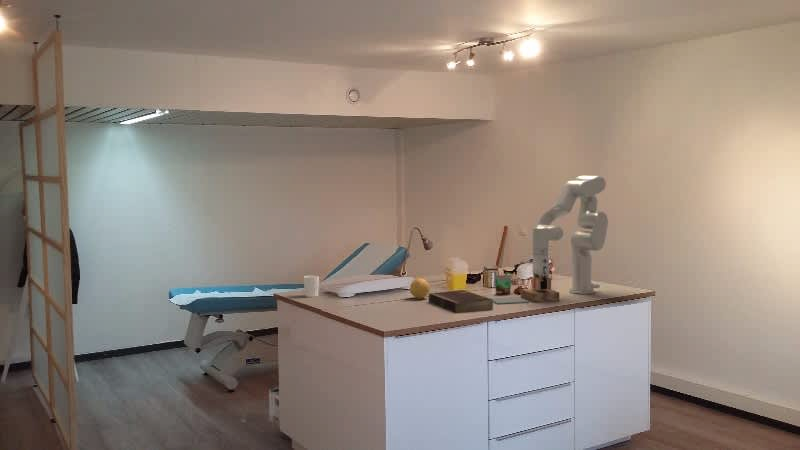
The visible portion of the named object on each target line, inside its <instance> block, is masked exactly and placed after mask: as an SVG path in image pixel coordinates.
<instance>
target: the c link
mask: <svg viewBox="0 0 800 450" xmlns="http://www.w3.org/2000/svg"><path fill="white" fill-rule="evenodd" d="M543 277H544V276H543ZM531 289H536V290H552V278H551V277H548V281H547V289H541V276H540V277H533V276H531Z"/></svg>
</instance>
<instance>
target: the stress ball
mask: <svg viewBox="0 0 800 450" xmlns="http://www.w3.org/2000/svg"><path fill="white" fill-rule="evenodd" d="M430 286H431V285H430V283H429V282H428V281H427V280H426V279H424V278H421V277H420V278H419V277H418V278H416V279H413V280H412V281H411V284H410V286H409V292H410V294H411V295H412V297H414V298H416V299H418V300H421V299H424V298H426V297H427V296H429V293H430V290H431V287H430Z"/></svg>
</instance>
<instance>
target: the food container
mask: <svg viewBox="0 0 800 450" xmlns="http://www.w3.org/2000/svg"><path fill="white" fill-rule="evenodd" d="M512 279H513V275H512V273H510V272H505V274H500V275H498V274H495V275H494V284H495V295H500V296H501V295H510V294H511V287H512V286H511V285H512Z"/></svg>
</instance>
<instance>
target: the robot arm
mask: <svg viewBox="0 0 800 450" xmlns="http://www.w3.org/2000/svg"><path fill="white" fill-rule="evenodd" d="M606 186H607V183H606V179H605V178H604V177H603V176H601V175H579V176H577V177H575V179H574V180H569V181H566V182H565V183H564V185H563V187H562V188H561V190H560V193H559V195H558V197H557V198H556V201H555V204H553V206H551V207H550V208H549V209H547V210H546V212H545V213H543V214H542V215H541V217H540V218H539V220H538V223H537V225H536V226H534V227H533V228H532V275H533V276H532V277H540V276H541V289H547V281H548V278H549V275H550V259H549V258H550V257H549V241H552V242H557V241H560V240H562V239H563V236H564V230H563V229H562V228H561V226H558V225H552V223H553V222H554V221H556V220H558V219H560V218H562V217H564V216H567V215H568V214H570V213H571V212H572V209H573V207H574V205H575V202H576V201H577V199H578V198H579V199H580V204H579V210H578V216H577V220H576V221H577V223H576V224H577V226H578V227H579V228H581V229H585V230H586V231H585V230H578V231H575V232H573V233H572V234H571V235H570V247H571V252H572V253H571V254H572V258H571V259H572V264H571V265H572V268H571V272H572V273H571V278H572V280H571V288H569V289H568V292H569V293H571V294H577V293H578V294H579V295H580V294H581V295H588V294H589V295H590V294H594V293H595V289H599V288H601V285H600V284H599V283H597V284H594V283H592V255H591V253H590V251H592V252H599V251H601V250H602V249H603V247H604V245H605V240H606V237H607V231H608V227H609V219H608V215H607V214H606V213H605V212H604V211H600V210H598V209H597V208H598V199H597V196H596V195H597V194H600V193H602V192H603V191H604V190H605V189H606ZM587 230H592V231H587ZM543 276H544V277H543Z"/></svg>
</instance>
